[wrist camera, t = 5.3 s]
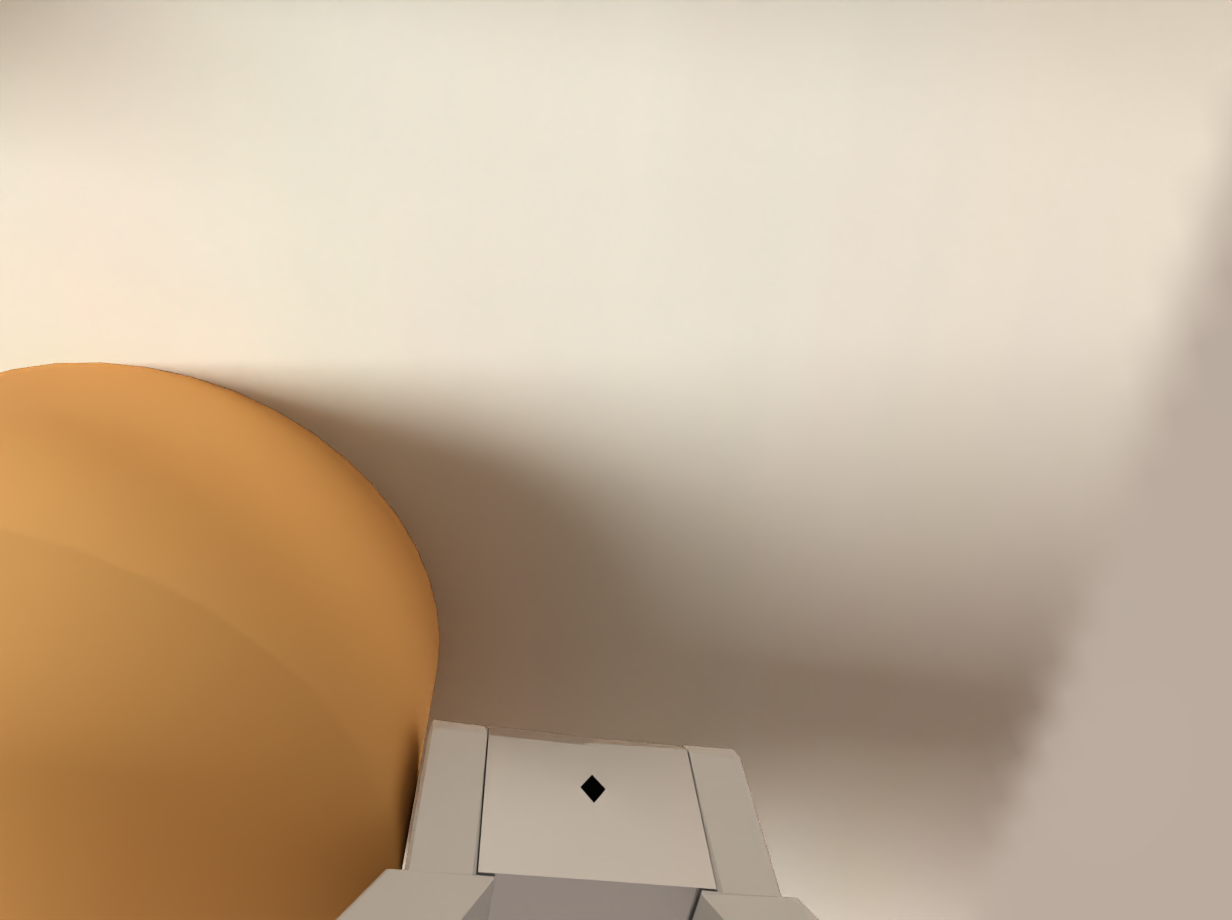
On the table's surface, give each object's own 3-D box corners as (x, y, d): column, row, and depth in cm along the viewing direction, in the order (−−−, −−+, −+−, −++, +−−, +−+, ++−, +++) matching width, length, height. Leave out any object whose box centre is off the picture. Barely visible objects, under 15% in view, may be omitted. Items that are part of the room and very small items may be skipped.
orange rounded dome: (-216, 306, 7) (-661, 439, 5) (476, 416, 8) (442, 583, 6) (-121, 813, 10) (-378, 1100, 7) (410, 855, 11) (364, 1123, 8)
